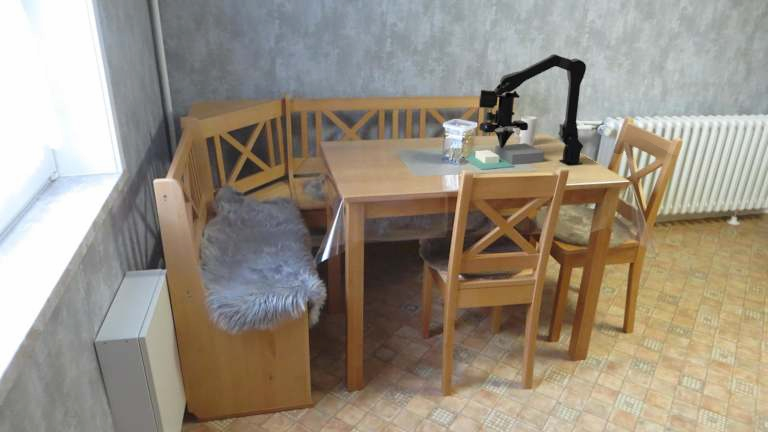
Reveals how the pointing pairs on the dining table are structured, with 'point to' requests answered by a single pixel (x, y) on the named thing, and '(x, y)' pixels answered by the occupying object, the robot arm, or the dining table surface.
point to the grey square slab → (519, 154)
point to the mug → (527, 131)
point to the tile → (487, 156)
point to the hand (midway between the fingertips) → (501, 147)
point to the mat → (484, 166)
